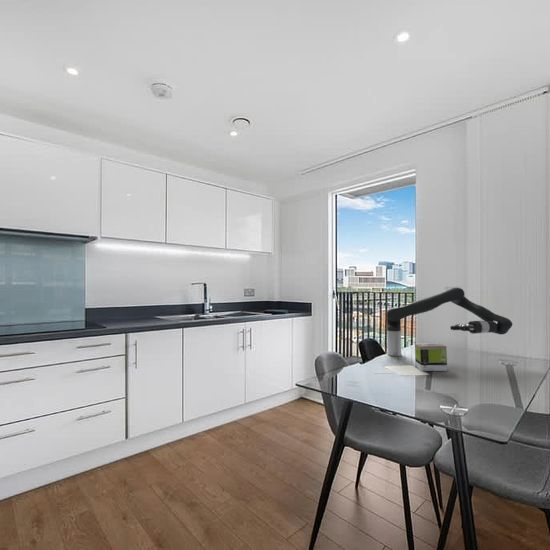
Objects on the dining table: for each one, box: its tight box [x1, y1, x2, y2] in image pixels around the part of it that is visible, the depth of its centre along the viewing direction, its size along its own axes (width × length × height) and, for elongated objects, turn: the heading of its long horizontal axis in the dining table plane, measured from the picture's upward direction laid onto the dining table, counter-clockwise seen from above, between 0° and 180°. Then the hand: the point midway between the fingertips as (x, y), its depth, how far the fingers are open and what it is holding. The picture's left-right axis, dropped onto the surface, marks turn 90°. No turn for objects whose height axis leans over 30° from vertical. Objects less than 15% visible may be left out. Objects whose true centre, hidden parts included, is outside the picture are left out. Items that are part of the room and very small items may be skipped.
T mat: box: [384, 364, 430, 377], centre depth 195 cm, size 20×30×1 cm, turn 96°
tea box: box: [414, 342, 448, 372], centre depth 197 cm, size 15×10×15 cm, turn 84°
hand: (451, 328), depth 199 cm, fingers closed
